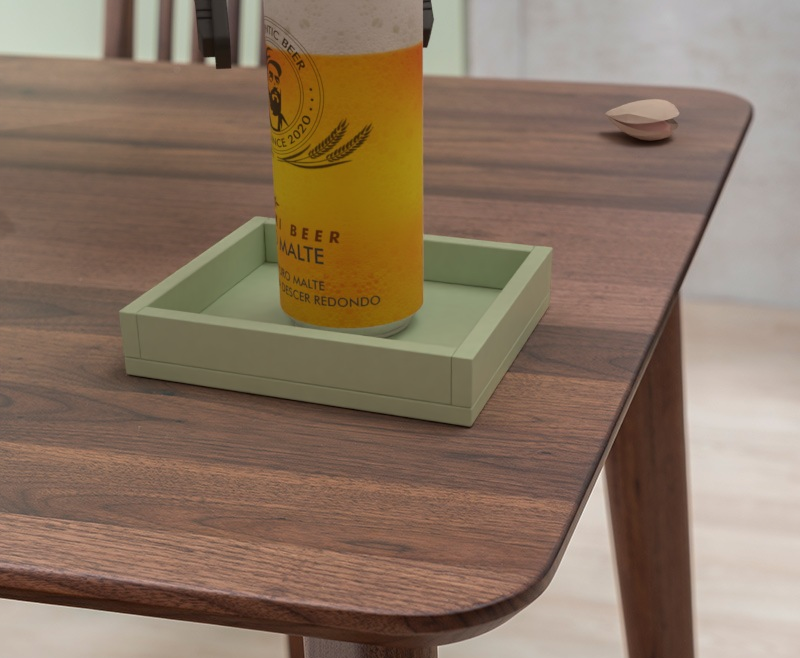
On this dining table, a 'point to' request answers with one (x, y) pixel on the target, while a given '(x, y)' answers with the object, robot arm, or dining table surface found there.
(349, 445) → the dining table surface
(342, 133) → the beer can
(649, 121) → the pistachio shell
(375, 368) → the serving tray
